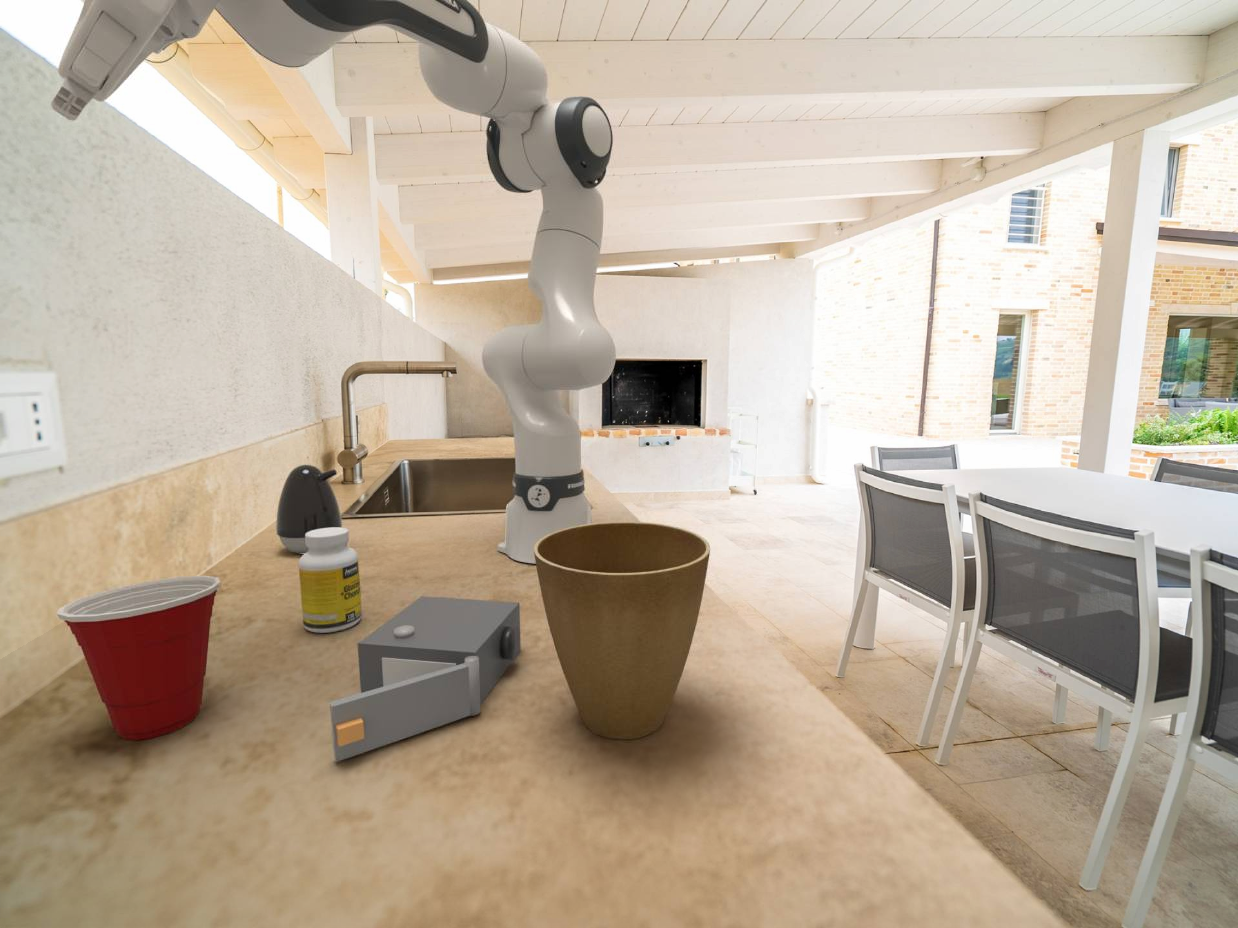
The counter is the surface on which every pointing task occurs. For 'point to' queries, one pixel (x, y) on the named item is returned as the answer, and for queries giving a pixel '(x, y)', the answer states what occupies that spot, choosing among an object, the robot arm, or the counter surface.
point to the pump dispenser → (306, 506)
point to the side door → (404, 709)
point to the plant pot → (622, 617)
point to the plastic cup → (147, 650)
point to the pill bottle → (329, 581)
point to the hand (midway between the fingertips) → (73, 96)
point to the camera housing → (441, 641)
